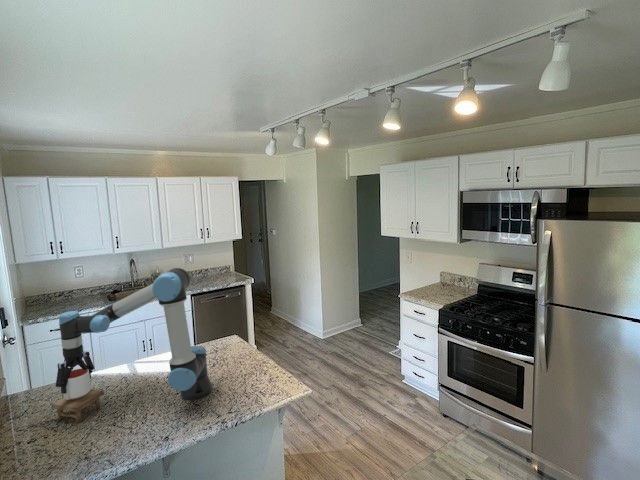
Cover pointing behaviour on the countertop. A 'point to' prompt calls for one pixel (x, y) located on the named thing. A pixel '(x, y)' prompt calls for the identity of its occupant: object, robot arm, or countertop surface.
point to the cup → (79, 383)
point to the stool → (77, 404)
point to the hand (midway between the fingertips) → (77, 392)
